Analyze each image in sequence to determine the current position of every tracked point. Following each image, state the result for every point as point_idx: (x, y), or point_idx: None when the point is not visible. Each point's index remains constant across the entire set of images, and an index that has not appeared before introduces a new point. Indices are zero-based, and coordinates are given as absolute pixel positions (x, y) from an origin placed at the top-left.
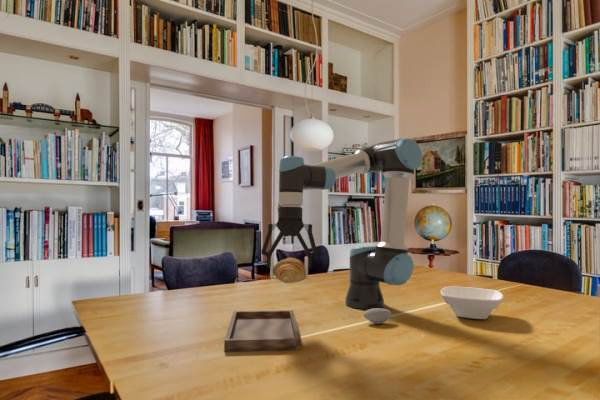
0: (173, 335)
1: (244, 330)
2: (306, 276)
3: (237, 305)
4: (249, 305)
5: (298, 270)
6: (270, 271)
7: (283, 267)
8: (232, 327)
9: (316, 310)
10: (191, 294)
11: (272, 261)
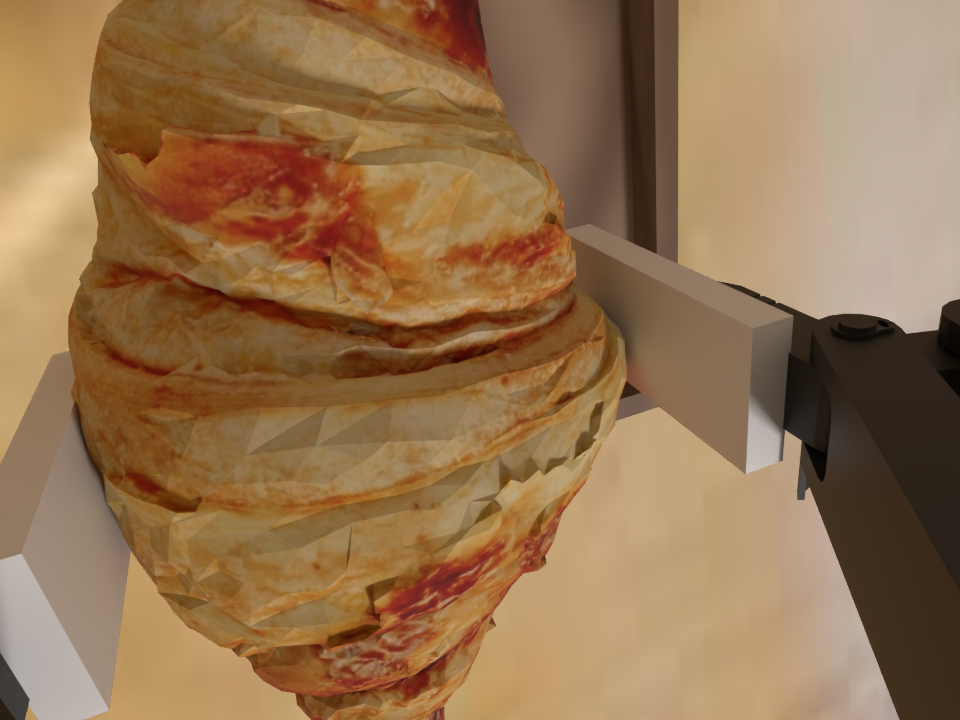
0: (896, 62)
1: (567, 128)
2: (68, 364)
3: (650, 626)
4: (591, 648)
5: (142, 67)
6: (639, 246)
7: (479, 137)
8: (654, 40)
9: (164, 707)
10: (852, 703)
11: (711, 296)
